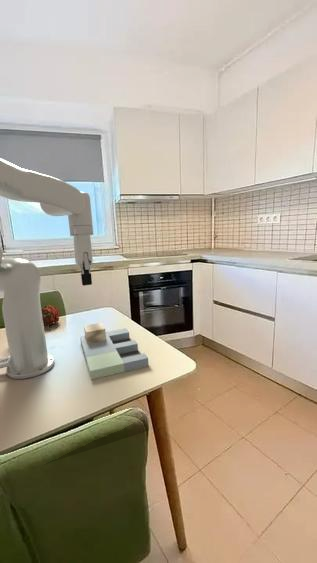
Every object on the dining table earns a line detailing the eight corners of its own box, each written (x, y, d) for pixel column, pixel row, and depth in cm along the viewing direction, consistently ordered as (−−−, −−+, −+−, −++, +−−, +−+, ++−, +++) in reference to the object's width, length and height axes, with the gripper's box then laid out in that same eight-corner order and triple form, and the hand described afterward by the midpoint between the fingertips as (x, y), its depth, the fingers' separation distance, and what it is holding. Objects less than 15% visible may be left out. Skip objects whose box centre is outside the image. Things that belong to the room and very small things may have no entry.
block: (87, 343, 88) (86, 332, 87) (85, 336, 93) (83, 325, 92) (106, 340, 90) (105, 328, 89) (102, 333, 95) (101, 322, 94)
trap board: (90, 379, 72) (89, 371, 72) (81, 343, 94) (80, 336, 94) (148, 365, 78) (148, 357, 77) (126, 334, 100) (126, 328, 99)
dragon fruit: (50, 333, 109) (47, 327, 119) (66, 317, 111) (62, 313, 122) (33, 318, 106) (32, 314, 116) (50, 302, 108) (48, 299, 119)
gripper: (68, 231, 98) (74, 281, 102) (71, 232, 84) (78, 290, 88) (89, 230, 100) (94, 279, 104) (96, 231, 87) (101, 287, 91)
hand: (87, 284), depth 96 cm, fingers closed
